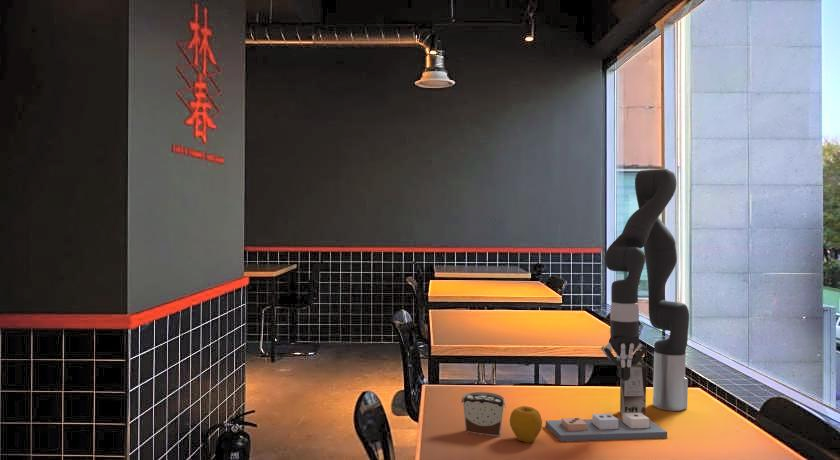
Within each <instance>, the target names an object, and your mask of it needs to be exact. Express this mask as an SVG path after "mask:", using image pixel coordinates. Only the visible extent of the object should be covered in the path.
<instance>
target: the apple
mask: <svg viewBox="0 0 840 460" xmlns="http://www.w3.org/2000/svg"><path fill="white" fill-rule="evenodd" d="M509 425H510V428H511V431H512V432H513V434H514V435H515V437H516V438H517V439H518V440H519V441H520V442H524V443H532V442H534V441H535V440H536V438H537V437H538V436H539V434H540V433H541V430H542V428H543V420H542V415H541V414H540V412H539V410H537V409H536V408H534V407H532V406H531V407H530V406H529V405H528V406H526V405H522V406H518V407H516V408H514V409H513V410H512V412H511V414H510V416H509Z"/></svg>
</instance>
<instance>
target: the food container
mask: <svg viewBox="0 0 840 460" xmlns="http://www.w3.org/2000/svg"><path fill="white" fill-rule="evenodd" d="M460 403H461V404H462V405H463V412H464V413H463V414H464V415H463V416H464V425H465V432H466V431H469V432H473V433H472V434H476V433H480V434H479V435H483V434H486V435H485V436H492V437H498V438H499V437H501V431H502V421H503V413H504V409H505V408H507V404H506V400H505V398H504V397H503V396H502V395H500V394H499V393H498V394H497V393H495V392H486V391H482V392H481V391H474V392H469V393H468V392H467V393H465V394H463V395H462V397H461V401H460Z"/></svg>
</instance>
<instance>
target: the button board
mask: <svg viewBox="0 0 840 460" xmlns="http://www.w3.org/2000/svg"><path fill="white" fill-rule="evenodd" d="M616 418H617V417H616ZM581 419H582V420H583V421H584V422H585V423H586V424H587V431H567V430H566V429H565V428H564V427H562V426H561V423H562V419H557V420H552V419H551V420H550V419H549V420H545V427H546V428H547V429H548V430H549V431H550V433H551V434H553V436H555V437H556V438H557V440H559V441H560V442H581V441H582V442H583V441H584V442H585V441H607V440H609V441H611V440H612V441H613V440H638V439H639V440H641V439H644V440H645V439H665V438H666V439H667V438H668V431H666V429H664V428H662V427H661V426H659V425H658V424H656V423H655V422H653V421H652V420H650V419H649V428H633V429H631V428H630V427H628V426H627V425H626V424H624V423H623V417H622V418H621V417H618V418H617V419H618V429H603V430H600V429H599V428H597V427H596V426H595V425H594V424H593V423H592V418H590V419H589V418H587V419H586V418H584V419H583V418H581Z"/></svg>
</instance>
